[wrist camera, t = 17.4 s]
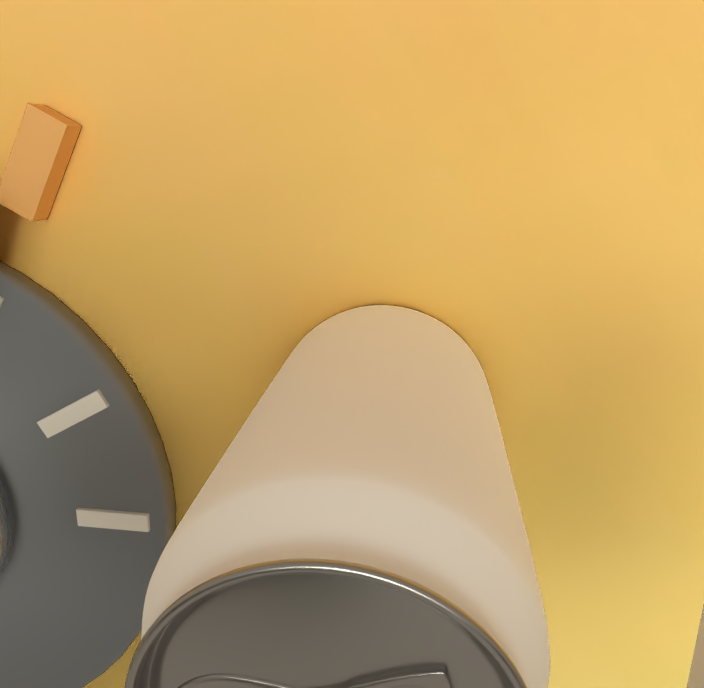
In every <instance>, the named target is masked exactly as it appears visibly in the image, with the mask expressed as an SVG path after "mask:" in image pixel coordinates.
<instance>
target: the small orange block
mask: <svg viewBox="0 0 704 688" xmlns="http://www.w3.org/2000/svg"><path fill="white" fill-rule="evenodd" d="M81 127H82V126H81V125H79V124H78V123H76V122H74V121H72V120H70V119H69V118H67V117H65V116H63V115H61V114H60V113H58V112H56V111H54V110H52V109H51V108H49V107H47V106H45V105H40V104H31V103H28V104H27V107H26V110H25V113H24V116H23V119H22V122H21V125H20V128H19V131H18V134H17V137H16V139H15V142H14V145H13V148H12V151H11V154H10V157H9V160H8V163H7V166H6V169H5V172H4V175H3V178H2V181H1V184H0V204H1V205H2V206H4V207H6V208H8V209H10V210H12V211H13V212H15V213H17V214H19V215H21V216H23V217H24V218H26V219H28V220H30V221H32V222H33V221H38V220H43V219H47V218H48V216H49V213H50V210H51V208H52V205H53V202H54V200H55V197H56V194H57V192H58V189H59V186H60V183H61V181H62V178H63V175H64V173H65V170H66V167H67V165H68V162H69V159H70V156H71V154H72V151H73V148H74V146H75V143H76V140H77V138H78V135H79V132H80V130H81Z"/></svg>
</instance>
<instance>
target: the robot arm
mask: <svg viewBox="0 0 704 688" xmlns="http://www.w3.org/2000/svg"><path fill="white" fill-rule="evenodd" d="M687 688H704V606H703V611H702V615H701V620H700V625H699V630H698V635H697V640H696V645H695V650H694V654H693V659H692V664H691V669H690V674H689V679H688V684H687Z"/></svg>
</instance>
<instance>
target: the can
mask: <svg viewBox="0 0 704 688" xmlns="http://www.w3.org/2000/svg"><path fill="white" fill-rule="evenodd" d="M141 639H142V640H141V642H140V643H139V645H138V647H137V649H136V651H135V653H134V656H133V658H132V661H131V664H130V666H129V670H128V673H127V678H126V682H125V688H548V682H549V674H550V647H549V636H548V627H547V621H546V616H545V611H544V606H543V601H542V596H541V592H540V588H539V583H538V579H537V575H536V571H535V566H534V562H533V558H532V554H531V550H530V546H529V541H528V537H527V533H526V529H525V525H524V521H523V517H522V513H521V509H520V505H519V501H518V497H517V493H516V489H515V485H514V481H513V477H512V473H511V469H510V465H509V461H508V457H507V453H506V449H505V446H504V442H503V438H502V434H501V430H500V426H499V422H498V418H497V415H496V411H495V407H494V403H493V400H492V396H491V392H490V389H489V385H488V382H487V379H486V376H485V374H484V371H483V369H482V367H481V365H480V363H479V361H478V359H477V358H476V356H475V354H474V353H473V351H472V350H471V349H470V347H469V346H468V345H467V344H466V343H465V341H464V340H463V339H462V338H461V337H460V336H459V335H458V334H456V333H455V332H454V331H453V330H452V329H450V328H449V327H448V326H446V325H445V324H443V323H442V322H440V321H439V320H437V319H435V318H433V317H431V316H429V315H427V314H424V313H422V312H419V311H416V310H413V309H409V308H405V307H399V306H391V305H372V306H363V307H358V308H354V309H350V310H347V311H344V312H341V313H339V314H336V315H334V316H332V317H330V318H328V319H327V320H325V321H323V322H322V323H320V324H319V325H318V326H316V327H315V328H314V329H312V330H311V331H310V332H309V333H308V334H307V335H306V336H305V337H304V338H303V339H302V340H301V341H300V342H299V343H298V345H297V346H296V347H295V349H294V350H293V351H292V353H291V354H290V355H289V357H288V358H287V360H286V361H285V363H284V364H283V366H282V367H281V369H280V370H279V372H278V373H277V374H276V376H275V377H274V379H273V380H272V382H271V383H270V385H269V386H268V388H267V389H266V391H265V392H264V394H263V395H262V397H261V399H260V400H259V402H258V403H257V405H256V406H255V408H254V409H253V411H252V412H251V414H250V415H249V417H248V418H247V420H246V421H245V423H244V424H243V426H242V427H241V429H240V430H239V432H238V433H237V435H236V436H235V438H234V440H233V441H232V443H231V444H230V446H229V447H228V449H227V450H226V452H225V453H224V455H223V456H222V458H221V459H220V461H219V463H218V464H217V466H216V467H215V469H214V470H213V472H212V473H211V475H210V476H209V478H208V479H207V481H206V482H205V484H204V486H203V487H202V489H201V490H200V492H199V493H198V495H197V496H196V498H195V500H194V501H193V503H192V504H191V506H190V507H189V509H188V511H187V512H186V514H185V515H184V517H183V518H182V520H181V522H180V523H179V525H178V526H177V528H176V530H175V531H174V533H173V535H172V537H171V538H170V540H169V542H168V543H167V545H166V547H165V549H164V550H163V552H162V554H161V556H160V558H159V561H158V563H157V565H156V567H155V569H154V572H153V574H152V577H151V579H150V582H149V585H148V589H147V592H146V597H145V602H144V609H143V617H142V638H141Z"/></svg>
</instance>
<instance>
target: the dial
mask: <svg viewBox="0 0 704 688" xmlns="http://www.w3.org/2000/svg"><path fill="white" fill-rule="evenodd" d="M13 541H14V518H13V510H12V507H11V503H10V499H9V496H8V493H7V490H6V488H5V485H4V483H3V481H2V479H1V477H0V575H1V574H2V572H3V570H4V568H5V566H6V565H7V563H8V560H9V557H10V554H11V552H12V547H13Z"/></svg>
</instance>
